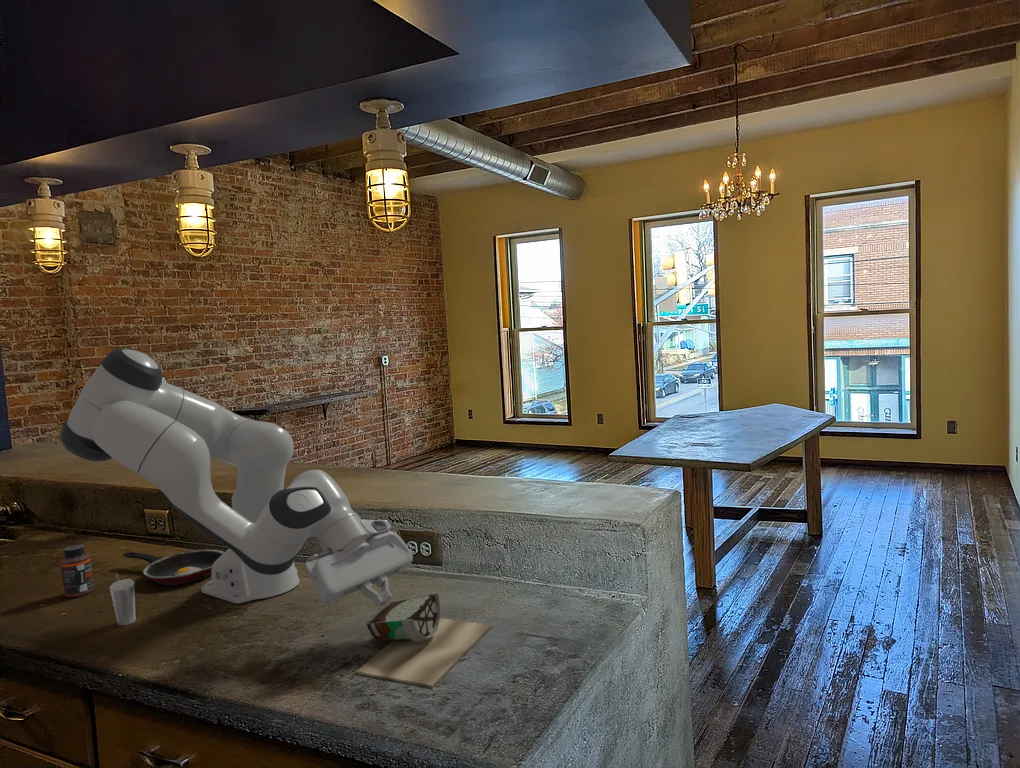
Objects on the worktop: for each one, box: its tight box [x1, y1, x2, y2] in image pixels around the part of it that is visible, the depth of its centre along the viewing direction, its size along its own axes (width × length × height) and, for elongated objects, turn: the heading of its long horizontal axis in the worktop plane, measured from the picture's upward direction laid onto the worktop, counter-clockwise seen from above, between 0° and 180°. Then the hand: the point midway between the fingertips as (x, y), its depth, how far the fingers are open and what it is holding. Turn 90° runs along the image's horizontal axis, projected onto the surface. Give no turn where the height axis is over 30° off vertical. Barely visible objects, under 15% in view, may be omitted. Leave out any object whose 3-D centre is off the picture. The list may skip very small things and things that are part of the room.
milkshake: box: [109, 572, 137, 627], centre depth 144 cm, size 4×5×10 cm
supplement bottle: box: [60, 544, 95, 598], centre depth 162 cm, size 6×6×11 cm
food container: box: [366, 592, 441, 643], centre depth 127 cm, size 12×6×10 cm
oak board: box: [355, 617, 493, 689], centre depth 123 cm, size 15×22×1 cm
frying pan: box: [122, 549, 225, 586], centre depth 173 cm, size 19×32×4 cm, turn 65°
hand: (385, 602), depth 126 cm, fingers closed
